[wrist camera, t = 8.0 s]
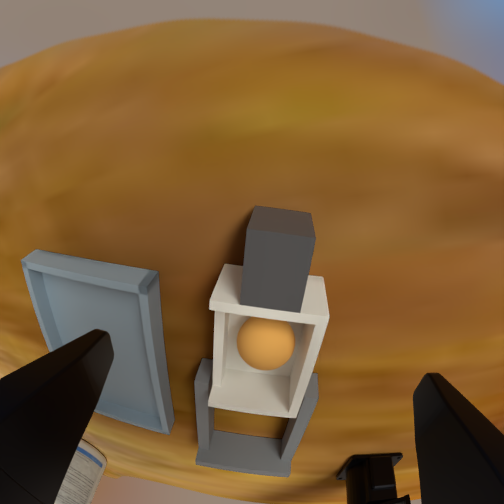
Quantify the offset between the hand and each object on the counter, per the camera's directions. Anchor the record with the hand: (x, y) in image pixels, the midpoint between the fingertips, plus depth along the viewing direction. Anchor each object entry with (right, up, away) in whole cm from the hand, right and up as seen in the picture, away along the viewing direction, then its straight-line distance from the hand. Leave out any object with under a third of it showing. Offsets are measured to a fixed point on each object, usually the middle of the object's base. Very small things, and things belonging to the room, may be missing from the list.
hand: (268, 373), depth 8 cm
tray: (-13, -5, +16) cm, 21 cm away
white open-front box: (+1, 0, +12) cm, 12 cm away
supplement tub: (-27, -28, +29) cm, 48 cm away
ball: (0, -2, +10) cm, 11 cm away
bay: (0, -10, +17) cm, 20 cm away
